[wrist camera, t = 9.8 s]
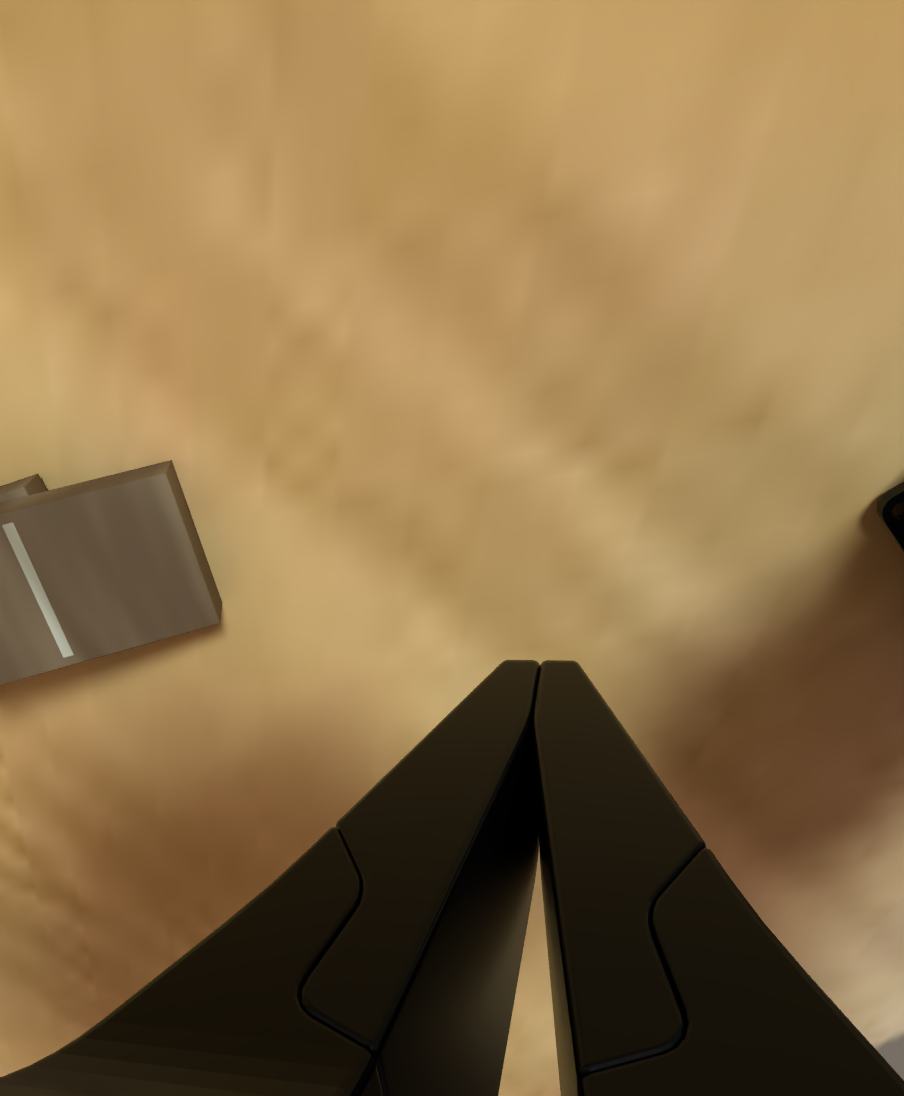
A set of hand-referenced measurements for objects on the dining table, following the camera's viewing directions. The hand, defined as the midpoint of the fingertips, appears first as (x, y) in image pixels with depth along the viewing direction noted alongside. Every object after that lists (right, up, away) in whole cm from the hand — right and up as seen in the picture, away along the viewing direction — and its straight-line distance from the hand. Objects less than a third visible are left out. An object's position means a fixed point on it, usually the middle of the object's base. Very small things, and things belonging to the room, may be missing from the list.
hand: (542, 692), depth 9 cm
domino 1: (-9, +2, +15) cm, 17 cm away
